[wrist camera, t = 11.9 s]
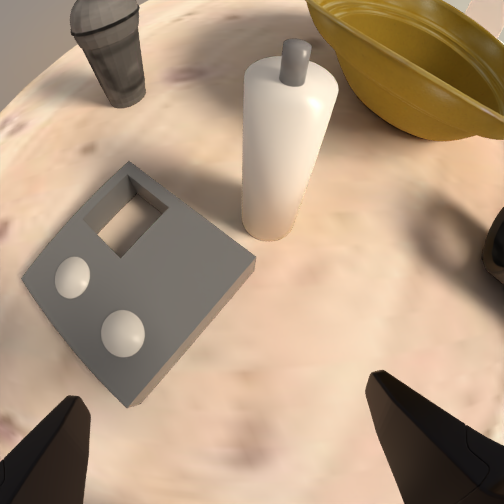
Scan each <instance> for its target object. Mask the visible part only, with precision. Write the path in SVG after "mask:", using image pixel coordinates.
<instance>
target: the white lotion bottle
mask: <svg viewBox="0 0 504 504" xmlns="http://www.w3.org/2000/svg"><path fill="white" fill-rule="evenodd" d="M311 49H312V46H311V45H310V44H309V43H308V42H306V41H303V40H300V39H288V40H285V41H284V43H283V51H282V56H272V57H267V58H263V59H260V60H258V61H256V62H254V63H253V64H251V65H250V66H249V67H248V68H247V70H246V72H245V74H244V102H243V153H242V223H243V226H244V228H245V229H246V231H247V232H248V233H249V234H250V235H251V236H253V237H254V238H256V239H259V240H262V241H277V240H280V239H282V238H284V237H285V236H286V235H288V234H289V233H290V231H291V230H292V228H293V225H294V222H295V219H296V217H297V214H298V211H299V208H300V205H301V202H302V200H303V197H304V194H305V191H306V188H307V185H308V182H309V179H310V177H311V174H312V171H313V168H314V165H315V162H316V159H317V156H318V153H319V150H320V147H321V144H322V141H323V138H324V135H325V132H326V129H327V126H328V123H329V120H330V117H331V114H332V110H333V107H334V104H335V101H336V98H337V95H338V84H337V82H336V80H335V78H334V77H333V76H332V75H331V74H330V73H329V72H328V71H327V70H326V69H324V68H323V67H321V66H320V65H318V64H316V63H314V62H311V61H309V59H310V54H311Z"/></svg>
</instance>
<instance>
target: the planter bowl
mask: <svg viewBox="0 0 504 504" xmlns="http://www.w3.org/2000/svg"><path fill="white" fill-rule="evenodd" d="M305 1H306V2H307V5H308V9H309V12H310V15H311V17H312V20H313V22H314V25H315V26H316V28H317V30H318V31H319V33H320V34H321V35H322V37H323V38H324V39H325V40H326V42H327V43H328V44H329V45H330V46H331V47H332V48H333V49H334V50H335V51H336V55H337V58H338V61H339V63H340V66H341V68H342V71H343V73H344V75H345V77H346V80H347V82H348V84H349V85H350V87H351V88H352V90H353V91H354V93H355V94H356V95H357V97H358V98H359V99H360V100H361V101H362V102H363V103H364V104H365V105H366V106H367V107H368V108H370V109H371V110H372V111H373V112H374V113H375V114H377V115H378V116H379V117H381V118H382V119H383V120H385V121H386V122H388V123H390V124H391V125H393V126H395V127H396V128H398V129H400V130H402V131H405V132H407V133H410V134H412V135H415V136H417V137H420V138H424V139H428V140H433V141H452V140H459V139H463V138H468V137H472V136H475V135H478V136H481V137H485V138H489V139H496V140H504V45H503V44H502V43H501V42H500V41H499V40H498V39H497V38H495V37H494V36H493V35H492V34H491V33H490V32H489V31H487V30H486V29H485V28H484V27H482V26H481V25H480V24H478V23H477V22H476V21H474V20H473V19H472V18H470V17H469V16H467V15H466V14H464V13H463V12H461V11H459V10H458V9H456V8H455V7H453V6H451V5H450V4H448V3H446V2H444V1H442V0H305Z"/></svg>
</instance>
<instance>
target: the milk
mask: <svg viewBox="0 0 504 504" xmlns="http://www.w3.org/2000/svg"><path fill="white" fill-rule="evenodd" d="M464 14H466V15H467V16H469V17H470V18H472V19H473V20H474V21H476V22H477V23H478V24H480V25H481V26H482V27H484V28H485V29H486V30H487V31H489V32H490V33H491V34H492V35H493V36H494V37H495V38H497V39H498V37H499V35H500V33H501V31H502V29H503V27H504V0H471V2H470V4H469V6H468V8H467V10H466V11H465V13H464Z"/></svg>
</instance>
